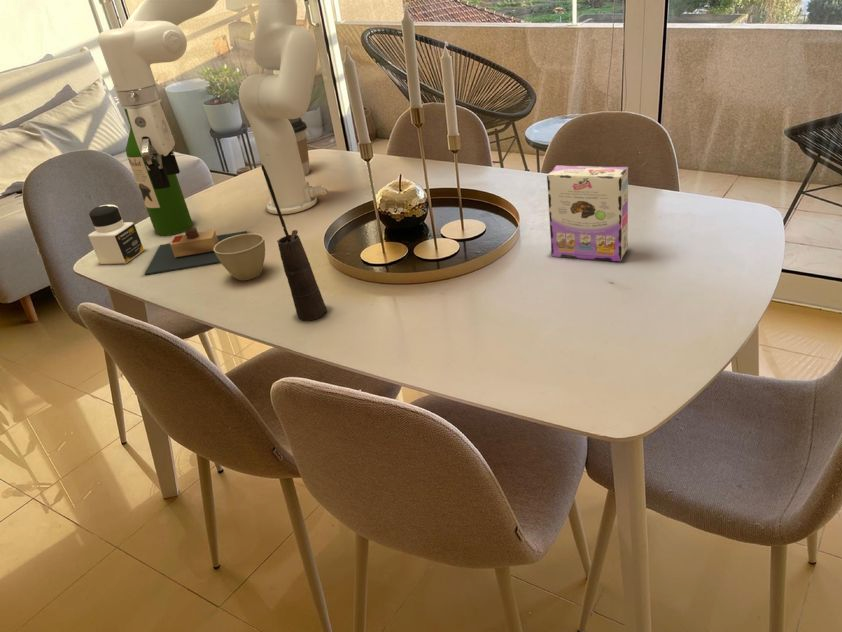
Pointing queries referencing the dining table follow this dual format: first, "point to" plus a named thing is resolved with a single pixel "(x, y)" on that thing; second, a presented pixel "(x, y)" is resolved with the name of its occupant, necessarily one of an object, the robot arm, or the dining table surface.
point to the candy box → (588, 212)
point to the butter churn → (298, 271)
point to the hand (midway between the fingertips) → (167, 180)
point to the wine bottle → (158, 194)
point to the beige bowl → (242, 255)
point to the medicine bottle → (113, 236)
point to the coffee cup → (301, 142)
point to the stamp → (194, 243)
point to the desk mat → (169, 262)
